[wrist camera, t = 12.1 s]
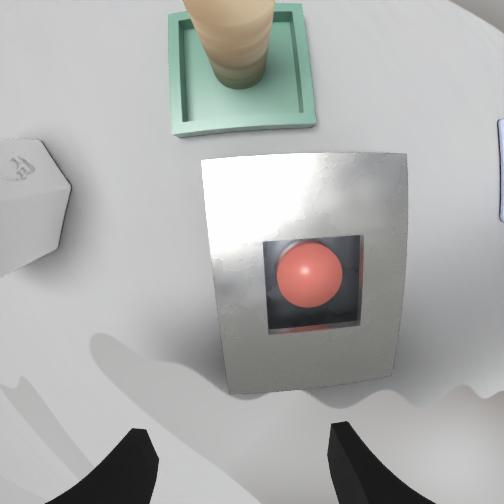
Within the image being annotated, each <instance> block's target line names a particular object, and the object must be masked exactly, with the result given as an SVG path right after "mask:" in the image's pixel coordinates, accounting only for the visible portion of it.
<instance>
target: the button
mask: <svg viewBox="0 0 504 504" xmlns="http://www.w3.org/2000/svg"><path fill="white" fill-rule="evenodd" d="M276 277H277V281H278V286H279V289H280V291H281V293H282V295H283V296H284V297H285V298H286V299H287V300H288V301H289V302H291V303H292V304H294V305H296V306H299V307H306V308H310V307H316V306H320V305H322V304H324V303H326V302H327V301H329V300H330V299H331V298H332V297H333V296H334V295H335V294H336V292H337V291H338V289H339V287H340V285H341V281H342V267H341V264H340V261H339V259H338V258H337V257H336V255H335V254H334V253H333V252H332V251H331V250H330V249H329V248H328V247H327V246H326V245H325V244H323V243H321V242H319V241H317V240H312V239H303V240H299V241H296V242H293V243H292V244H290V245H289V246H287V247H286V248H285V249H284V250H283V251H282V253H281V254H280V256H279V258H278V260H277V263H276Z"/></svg>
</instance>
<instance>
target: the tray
mask: <svg viewBox="0 0 504 504" xmlns="http://www.w3.org/2000/svg"><path fill="white" fill-rule="evenodd" d="M168 53H169V86H170V107H171V124H172V135H175V136H177V137H179V138H182V137H189V136H198V135H206V134H216V133H226V132H237V131H250V130H266V129H287V128H310V127H311V126H313V125H314V124H316V118H315V107H314V97H313V87H312V78H311V69H310V61H309V53H308V45H307V38H306V31H305V24H304V17H303V11H302V4H287V3H281V4H275V7H274V14H273V20H272V27H271V34H270V41H269V47H268V54H267V61H266V68H265V73H264V75H263V77H262V79H261V80H260V81H259V82H258V83H257V84H256V85H254V86H252V87H250V88H247V89H242V90H235V89H231V88H228V87H226V86H224V85H223V84H221V83H220V82H219V81H218V79H217V78H216V76H215V74H214V71H213V69H212V67H211V64H210V62H209V60H208V57H207V55H206V53H205V50H204V48H203V46H202V43H201V41H200V39H199V37H198V34H197V32H196V30H195V27H194V25H193V23H192V21H191V18H190V16H189V14H188V12H187V11H185V12H179V13H174V14H168Z"/></svg>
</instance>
